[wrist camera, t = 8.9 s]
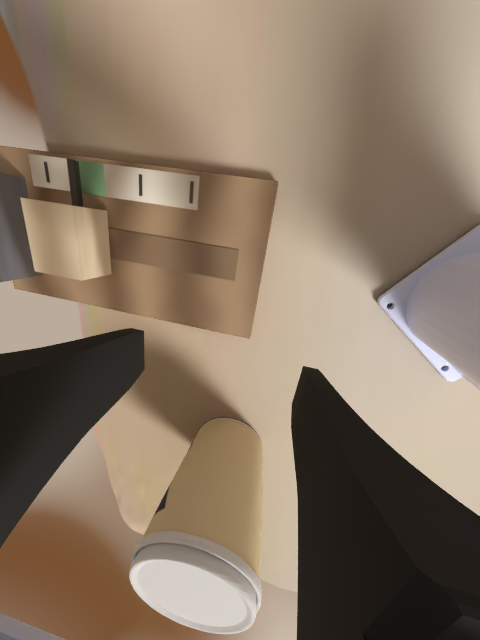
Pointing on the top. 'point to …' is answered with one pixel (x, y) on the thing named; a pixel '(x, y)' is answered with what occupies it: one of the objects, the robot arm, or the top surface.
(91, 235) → the gauge slider
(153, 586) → the coffee cup
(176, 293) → the gauge base
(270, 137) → the top surface
